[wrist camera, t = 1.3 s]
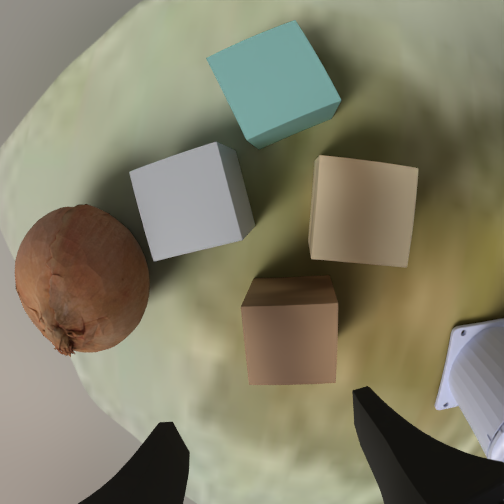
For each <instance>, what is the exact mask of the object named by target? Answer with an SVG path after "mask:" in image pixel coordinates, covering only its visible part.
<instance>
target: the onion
mask: <svg viewBox="0 0 504 504" xmlns="http://www.w3.org/2000/svg"><path fill="white" fill-rule="evenodd" d="M15 280H16V290H17V293H18V295H19V297H20V300H21V303H22V305H23V308H24V310H25V311H26V313H27V314H28V316H29V317H30V319H31V320H32V322H33V323H34V324H35V325H36V327H37V328H38V329H39V330H40V331H41V332H42V334H43V336H45V337H46V338H47V339H49V340H50V341H51V342H52V344H53V345H54V346H55V348H54V349H57V350H58V351H59V352H60V353H61V354H64V355H66V356H67V355H69V356H70V357H71V353H72V354H75V353H74V351H79V352H98V351H102V350H106V349H109V348H111V347H114V346H116V345H117V344H119V343H120V342H121V341H123V340H124V339H125V338H126V337H127V336H128V335H129V334H130V333H131V332H132V331H133V330H134V329H135V328H136V327H137V325H138V324H139V323H140V321H141V319H142V317H143V314H144V312H145V309H146V307H147V302H148V298H149V271H148V266H147V263H146V259H145V256H144V254H143V251H142V249H141V247H140V245H139V244H138V242H137V241H136V239H135V238H134V236H133V235H132V233H131V232H130V231H129V229H128V228H126V227H125V226H124V225H123V224H122V223H120V222H119V221H118V220H117V219H115V218H114V217H112V216H111V215H110V214H109V213H106V212H105V211H102V210H100V209H98V208H96V207H93V206H90V205H87V204H85V205H77V206H75V207H63V208H59V209H57V210H54V211H52V212H50V213H48V214H47V215H45V216H44V217H42V218H41V219H39V220H38V221H37V222H36V223H35V224H34V225H33V227H32V228H31V229H30V230H29V231H28V233H27V234H26V236H25V237H24V239H23V241H22V242H21V245H20V247H19V250H18V253H17V257H16V261H15ZM60 350H61V351H62V352H61V351H60ZM73 350H74V351H73Z"/></svg>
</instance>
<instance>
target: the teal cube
mask: <svg viewBox="0 0 504 504" xmlns="http://www.w3.org/2000/svg"><path fill="white" fill-rule="evenodd" d="M206 59H207V61H208V63H209V65H210V67H211V69H212V71H213V73H214V75H215V77H216V79H217V81H218V83H219V85H220V87H221V89H222V91H223V93H224V95H225V97H226V99H227V101H228V103H229V105H230V107H231V109H232V111H233V113H234V115H235V117H236V119H237V121H238V124H239V126H240V128H241V130H242V132H243V134H244V136H245V138H246V140H247V141H248V142H249V143H251V144H252V145H253V146H255V147H256V148H257V149H261V148H264V147H266V146H268V145H270V144H272V143H275V142H277V141H279V140H282V139H284V138H286V137H289V136H291V135H293V134H296V133H298V132H300V131H303V130H305V129H307V128H310V127H312V126H315V125H317V124H320V123H322V122H325V121H327V120H330V119H332V117H333V115H334V113H335V111H336V109H337V108H338V106H339V104H340V102H341V98H340V97H339V95H338V93H337V91H336V89H335V87H334V85H333V83H332V81H331V80H330V78H329V76H328V74H327V72H326V70H325V69H324V67H323V65H322V63H321V62H320V60H319V58H318V56H317V55H316V53H315V51H314V50H313V48H312V46H311V45H310V43H309V41H308V40H307V38H306V36H305V35H304V33H303V31H302V30H301V28H300V27H299V25H298V24H297V22H296V20H294V21H291V22H288V23H286V24H283V25H280V26H278V27H275V28H272V29H270V30H267V31H265V32H262V33H260V34H258V35H255V36H253V37H250V38H248V39H246V40H244V41H241V42H239V43H237V44H235V45H232V46H230V47H228V48H226V49H224V50H222V51H220V52H218V53H216V54H214V55H212V56H210V57H208V58H206Z"/></svg>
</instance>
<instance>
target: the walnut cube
mask: <svg viewBox="0 0 504 504" xmlns="http://www.w3.org/2000/svg"><path fill="white" fill-rule="evenodd" d="M241 312H242V322H243V332H244V342H245V351H246V361H247V370H248V379H249V385H293V384H322V383H336V364H337V339H338V301H337V297H336V294H335V291H334V288H333V284H332V281H331V278H330V275H323V276H302V277H279V278H254V279H253V281H252V283H251V286H250V288H249V290H248V292H247V294H246V297H245V299H244V301H243V303H242V305H241Z"/></svg>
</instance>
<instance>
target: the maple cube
mask: <svg viewBox="0 0 504 504" xmlns="http://www.w3.org/2000/svg"><path fill="white" fill-rule="evenodd" d="M417 181H418V168H414V167H408V166H402V165H395V164H389V163H382V162H375V161H367V160H359V159H351V158H342V157H333V156H323V155H319V157H318V158H317V159H316V160H315V161H314V172H313V186H312V200H311V212H310V224H309V235H308V243H309V249H310V255H311V259H317V260H328V261H340V262H351V263H362V264H373V265H385V266H396V267H407V263H408V257H409V251H410V244H411V237H412V230H413V222H414V213H415V204H416V193H417Z"/></svg>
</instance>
